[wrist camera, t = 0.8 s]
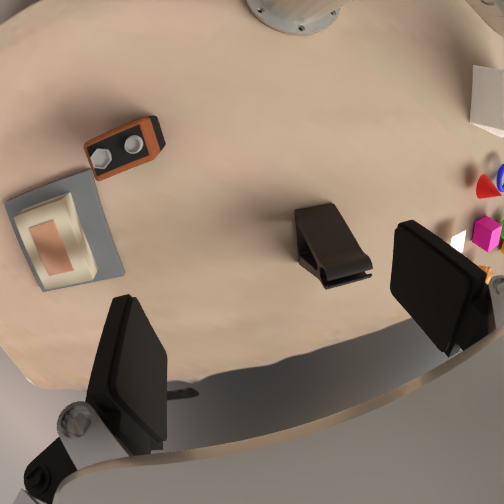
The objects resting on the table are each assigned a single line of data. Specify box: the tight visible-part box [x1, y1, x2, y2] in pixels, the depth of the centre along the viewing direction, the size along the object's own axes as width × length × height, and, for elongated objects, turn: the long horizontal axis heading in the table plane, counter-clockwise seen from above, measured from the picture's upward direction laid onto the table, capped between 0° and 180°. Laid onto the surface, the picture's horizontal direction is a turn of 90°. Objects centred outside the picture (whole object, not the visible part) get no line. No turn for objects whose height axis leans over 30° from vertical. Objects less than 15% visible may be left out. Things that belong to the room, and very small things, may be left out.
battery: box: [84, 116, 165, 181], centre depth 27 cm, size 4×7×10 cm, turn 103°
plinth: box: [14, 192, 98, 290], centre depth 33 cm, size 12×9×3 cm
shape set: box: [450, 164, 504, 284], centre depth 46 cm, size 29×35×7 cm
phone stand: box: [295, 203, 373, 289], centre depth 38 cm, size 9×6×12 cm, turn 7°
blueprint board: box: [4, 169, 125, 292], centre depth 35 cm, size 16×16×1 cm
